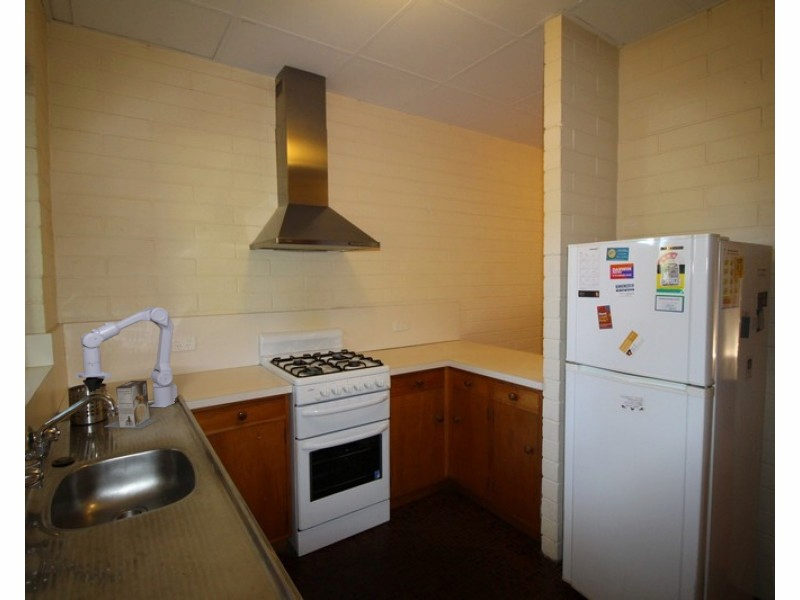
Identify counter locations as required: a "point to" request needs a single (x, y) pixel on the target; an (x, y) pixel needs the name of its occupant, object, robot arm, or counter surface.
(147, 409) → the coffee box
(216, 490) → the counter surface
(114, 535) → the counter surface
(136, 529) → the counter surface
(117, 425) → the mat
